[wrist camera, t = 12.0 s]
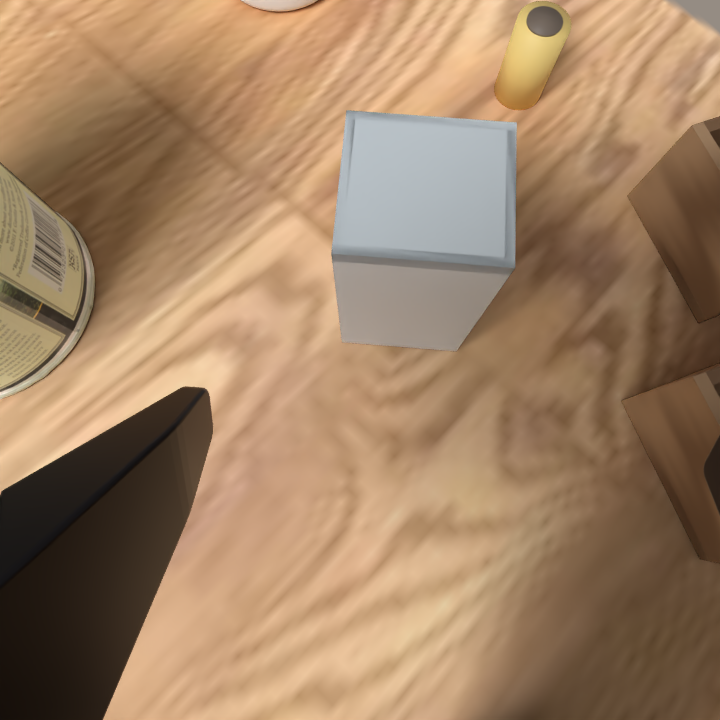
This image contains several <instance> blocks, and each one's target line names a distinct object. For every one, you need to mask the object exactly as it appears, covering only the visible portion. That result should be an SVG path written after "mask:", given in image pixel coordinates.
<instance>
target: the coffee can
mask: <svg viewBox="0 0 720 720" xmlns="http://www.w3.org/2000/svg"><path fill="white" fill-rule="evenodd" d="M94 290H95V274H94V267H93V263H92V259H91V256H90V253H89V251H88V248H87V246H86V244H85V242H84V240H83V239H82V237H81V235H80V233H79V232H78V231H77V230H76V228H75V227H74V226H73V225H72V224H71V223H70V222H69V221H68V220H66V219H65V218H64V217H63V216H62V215H60V214H59V213H57V212H56V211H54V210H53V209H52V208H50V207H49V206H48V205H47V204H46V203H45V202H44V201H43V200H42V199H41V198H40V197H38V196H37V195H36V194H35V193H34V192H33V191H32V190H31V189H29V188H28V187H27V186H26V185H25V184H24V183H23V182H22V181H20V180H19V179H18V178H17V177H16V176H15V175H14V174H13V173H12V172H10V171H9V170H8V169H7V168H6V167H5V166H4V165H3V164H2V163H0V399H2V398H5V397H8V396H11V395H13V394H15V393H18V392H20V391H22V390H24V389H26V388H28V387H29V386H31V385H32V384H34V383H35V382H37V381H39V380H41V379H42V378H44V377H45V376H46V375H47V374H48V373H49V372H50V371H51V370H53V369H54V368H55V367H56V366H57V365H58V364H59V363H60V362H61V361H62V360H63V359H64V358H65V357H66V355H67V354H68V353H69V352H70V351H71V350H72V349H73V347H74V346H75V344H76V343H77V341H78V339H79V338H80V336H81V335H82V333H83V331H84V329H85V327H86V324H87V322H88V319H89V317H90V313H91V310H92V308H93V300H94Z"/></svg>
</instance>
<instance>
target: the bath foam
mask: <svg viewBox="0 0 720 720" xmlns="http://www.w3.org/2000/svg"><path fill="white" fill-rule="evenodd" d="M241 1H243V2H244V3H246V4H248V5H250V6H253V7H255V8H258V9H262V10H267V11H291V10H296V9H300V8H303V7H306V6H308V5H310V4H312V3H314V2H316V1H317V0H241Z"/></svg>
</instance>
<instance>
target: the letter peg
mask: <svg viewBox="0 0 720 720" xmlns="http://www.w3.org/2000/svg"><path fill="white" fill-rule="evenodd" d="M570 30H571V19H570V17H569V15H568V13H567V12H566V11H565V10H564V9H563V8H562V7H560V6H559V5H557V4H555V3H552V2H548V1H536V2H532V3H530V4H528V5H526V6H525V7H523V8H522V10H521V11H520V12H519V15H518V17H517V20H516V23H515V26H514V29H513V32H512V35H511V38H510V41H509V44H508V47H507V50H506V53H505V56H504V59H503V62H502V65H501V68H500V71H499V74H498V77H497V80H496V83H495V86H494V92H495V96H496V98H497V99H498V101H499V102H500V103H501V104H502V105H504V106H505V107H507V108H510V109H513V110H525V109H528V108H530V107H532V106H534V105H535V104H536V103H537V101H538V100H539V98H540V96H541V93H542V91H543V89H544V87H545V85H546V83H547V80H548V78H549V76H550V74H551V72H552V69H553V67H554V65H555V63H556V61H557V59H558V56H559V54H560V52H561V50H562V48H563V46H564V43H565V41H566V39H567V37H568V35H569V33H570Z"/></svg>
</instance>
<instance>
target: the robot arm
mask: <svg viewBox="0 0 720 720" xmlns="http://www.w3.org/2000/svg"><path fill="white" fill-rule="evenodd" d="M212 434H213V422H212V413H211V405H210V396H209V393H208V391H207V390H206V389H205V388H199V387H182V388H180V389H178V390H176V391H175V392H173V393H171V394H169V395H168V396H166V397H164V398H163V399H161V400H159V401H157V402H156V403H154V404H152V405H150V406H149V407H147V408H145V409H143V410H142V411H140V412H138V413H136V414H135V415H133V416H131V417H130V418H128V419H126V420H124V421H123V422H121V423H119V424H117V425H116V426H114V427H112V428H110V429H109V430H107V431H105V432H103V433H102V434H100V435H98V436H97V437H95V438H93V439H91V440H90V441H88V442H86V443H84V444H83V445H81V446H79V447H77V448H76V449H74V450H72V451H70V452H69V453H67V454H65V455H64V456H62V457H60V458H58V459H57V460H55V461H53V462H51V463H50V464H48V465H46V466H44V467H43V468H41V469H39V470H37V471H36V472H34V473H32V474H30V475H29V476H27V477H25V478H23V479H22V480H20V481H18V482H17V483H15V484H13V485H11V486H10V487H8V488H6V489H4V490H3V491H2V492H1V495H0V720H103V718H104V716H105V713H106V711H107V709H108V706H109V704H110V702H111V699H112V697H113V695H114V692H115V690H116V687H117V685H118V683H119V680H120V678H121V676H122V673H123V671H124V669H125V666H126V664H127V661H128V659H129V657H130V654H131V652H132V650H133V647H134V645H135V643H136V640H137V638H138V635H139V633H140V631H141V628H142V626H143V624H144V621H145V619H146V617H147V614H148V612H149V609H150V607H151V605H152V602H153V600H154V598H155V595H156V593H157V591H158V588H159V586H160V583H161V581H162V579H163V576H164V574H165V572H166V569H167V567H168V565H169V562H170V560H171V557H172V555H173V553H174V550H175V548H176V546H177V543H178V541H179V539H180V536H181V534H182V531H183V529H184V527H185V524H186V522H187V519H188V517H189V514H190V511H191V508H192V505H193V502H194V498H195V495H196V491H197V488H198V484H199V481H200V477H201V474H202V470H203V467H204V463H205V460H206V457H207V453H208V450H209V446H210V443H211V439H212ZM703 472H704V477H705V480H706V483H707V485H708V488H709V490H710V493H711V495H712V498H713V500H714V503H715V505H716V508H717V511H718V513H719V516H720V434H719V436H718V438H717V440H716V442H715V444H714V446H713V447H712V449H711V451H710V453H709V455H708V457H707V459H706V460H705V463H704V467H703Z"/></svg>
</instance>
